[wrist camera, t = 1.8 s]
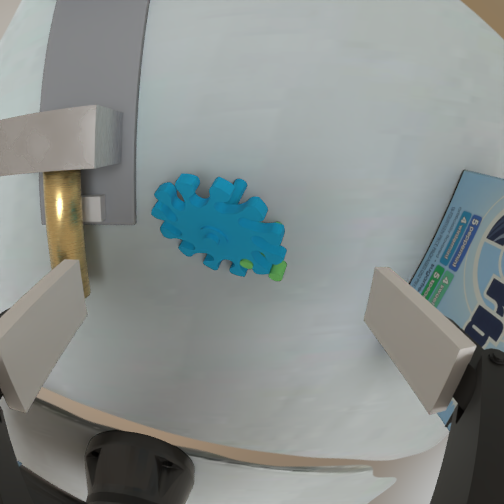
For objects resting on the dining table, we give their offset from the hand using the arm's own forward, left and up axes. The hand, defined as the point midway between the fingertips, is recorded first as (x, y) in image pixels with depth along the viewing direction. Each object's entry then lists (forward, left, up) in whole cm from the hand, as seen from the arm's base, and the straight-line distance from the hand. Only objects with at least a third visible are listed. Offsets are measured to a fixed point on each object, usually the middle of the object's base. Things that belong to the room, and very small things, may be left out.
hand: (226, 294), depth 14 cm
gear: (0, 0, -14) cm, 14 cm away
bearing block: (+7, +12, -13) cm, 19 cm away
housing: (+11, +12, -13) cm, 21 cm away
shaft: (+1, +12, -11) cm, 17 cm away
